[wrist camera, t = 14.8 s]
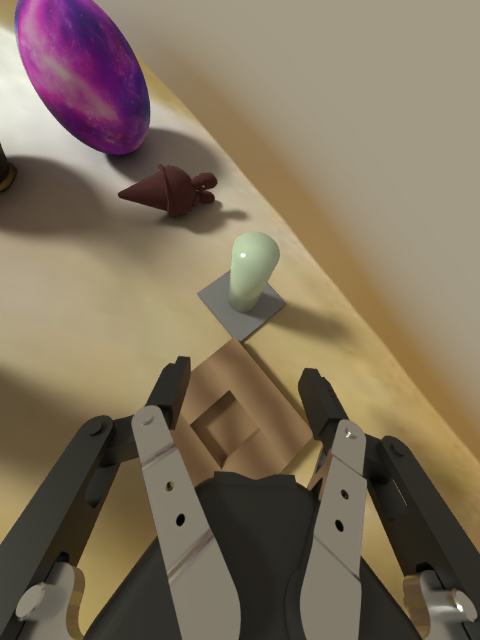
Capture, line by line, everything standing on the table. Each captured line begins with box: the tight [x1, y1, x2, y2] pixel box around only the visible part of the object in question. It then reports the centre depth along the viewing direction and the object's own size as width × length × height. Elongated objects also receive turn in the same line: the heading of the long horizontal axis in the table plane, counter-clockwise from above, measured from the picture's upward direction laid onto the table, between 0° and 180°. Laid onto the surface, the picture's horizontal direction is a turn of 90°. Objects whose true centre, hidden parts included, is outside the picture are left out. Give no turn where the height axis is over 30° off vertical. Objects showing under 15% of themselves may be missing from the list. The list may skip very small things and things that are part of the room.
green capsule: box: [229, 232, 280, 313], centre depth 22 cm, size 4×4×12 cm
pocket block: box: [169, 337, 313, 487], centre depth 23 cm, size 16×16×2 cm
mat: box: [197, 270, 286, 343], centre depth 28 cm, size 10×10×1 cm
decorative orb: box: [15, 0, 150, 155], centre depth 27 cm, size 15×15×15 cm
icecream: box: [118, 164, 217, 218], centre depth 29 cm, size 7×7×15 cm
